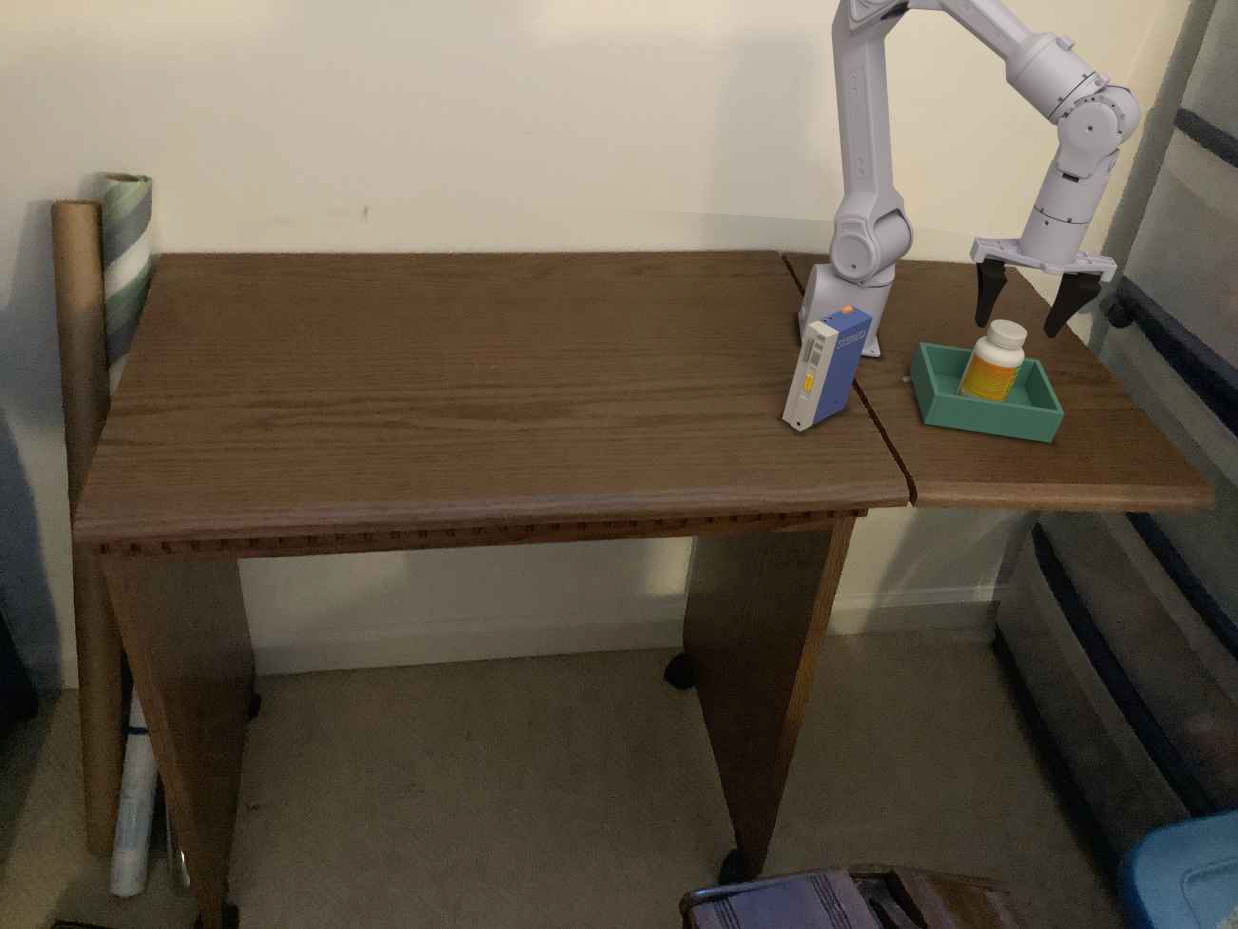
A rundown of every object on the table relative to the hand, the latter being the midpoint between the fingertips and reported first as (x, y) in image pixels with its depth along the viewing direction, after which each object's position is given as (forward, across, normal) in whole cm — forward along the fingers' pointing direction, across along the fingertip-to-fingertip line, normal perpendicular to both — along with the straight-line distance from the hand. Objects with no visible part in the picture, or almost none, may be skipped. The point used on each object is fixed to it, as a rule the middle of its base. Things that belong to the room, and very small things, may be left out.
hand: (1013, 328), depth 110 cm
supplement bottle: (+10, -1, -1) cm, 10 cm away
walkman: (+10, -20, -8) cm, 24 cm away
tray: (+10, -1, -1) cm, 10 cm away
